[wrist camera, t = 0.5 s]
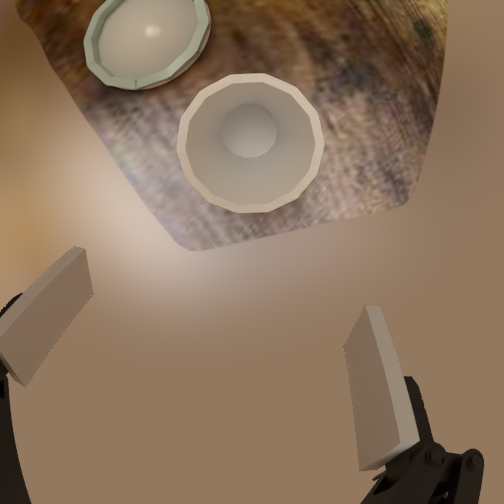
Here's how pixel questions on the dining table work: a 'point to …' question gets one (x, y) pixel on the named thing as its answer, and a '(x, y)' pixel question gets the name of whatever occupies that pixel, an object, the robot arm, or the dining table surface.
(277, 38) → the dining table surface
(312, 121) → the foam cup
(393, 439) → the robot arm
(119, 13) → the ceramic saucer
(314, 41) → the dining table surface
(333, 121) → the dining table surface
